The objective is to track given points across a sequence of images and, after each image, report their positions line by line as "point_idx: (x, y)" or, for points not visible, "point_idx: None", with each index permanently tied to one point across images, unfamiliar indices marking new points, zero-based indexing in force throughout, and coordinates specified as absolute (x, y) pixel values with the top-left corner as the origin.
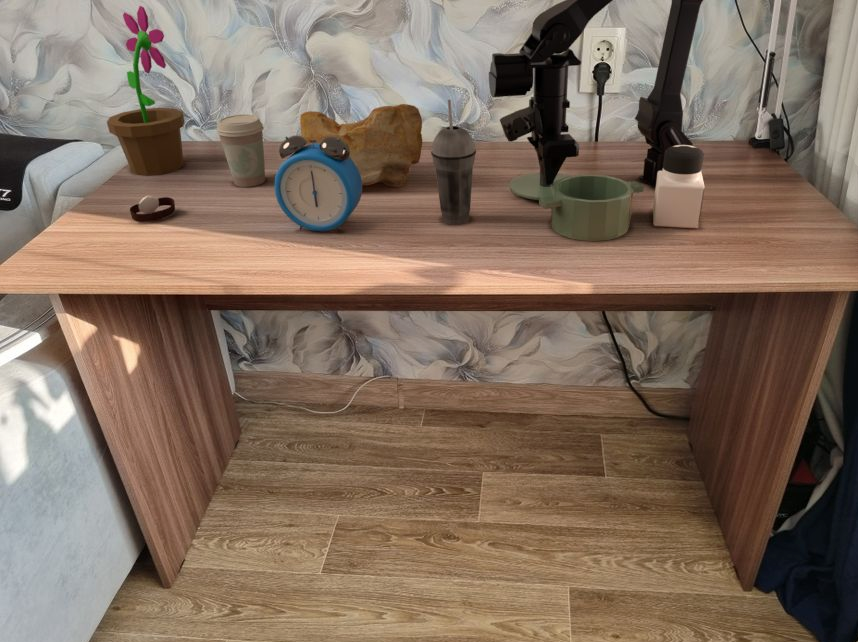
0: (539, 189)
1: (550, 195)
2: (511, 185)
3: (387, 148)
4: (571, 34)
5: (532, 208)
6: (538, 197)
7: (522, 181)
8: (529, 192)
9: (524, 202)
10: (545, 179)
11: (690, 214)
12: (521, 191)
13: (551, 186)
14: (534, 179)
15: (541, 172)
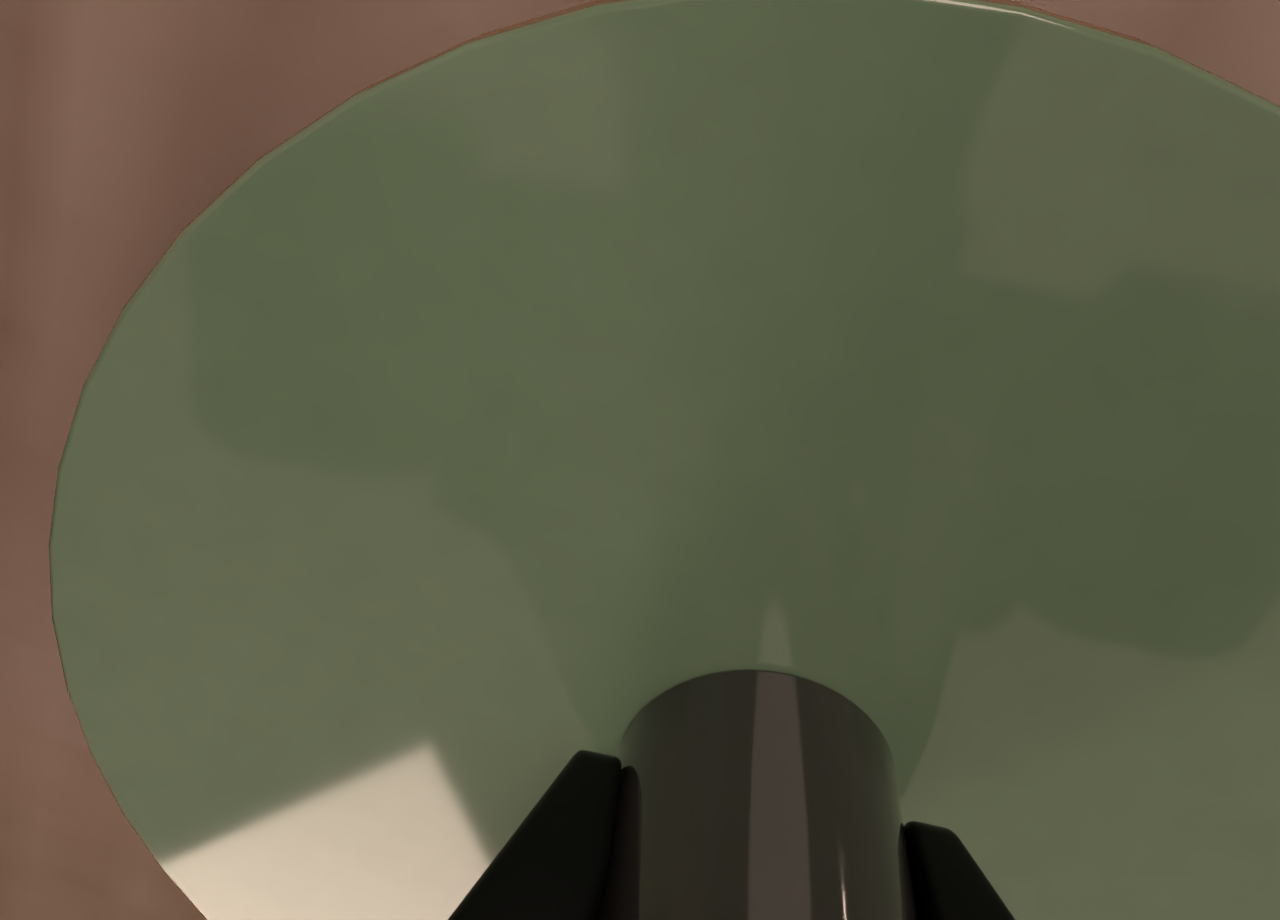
0: (537, 564)
1: (169, 595)
2: (1106, 99)
3: None
4: None
5: (29, 124)
6: (103, 363)
7: (1197, 473)
8: (435, 316)
9: None
10: (555, 818)
11: None
12: (559, 168)
13: None
14: (1143, 719)
15: (707, 914)
